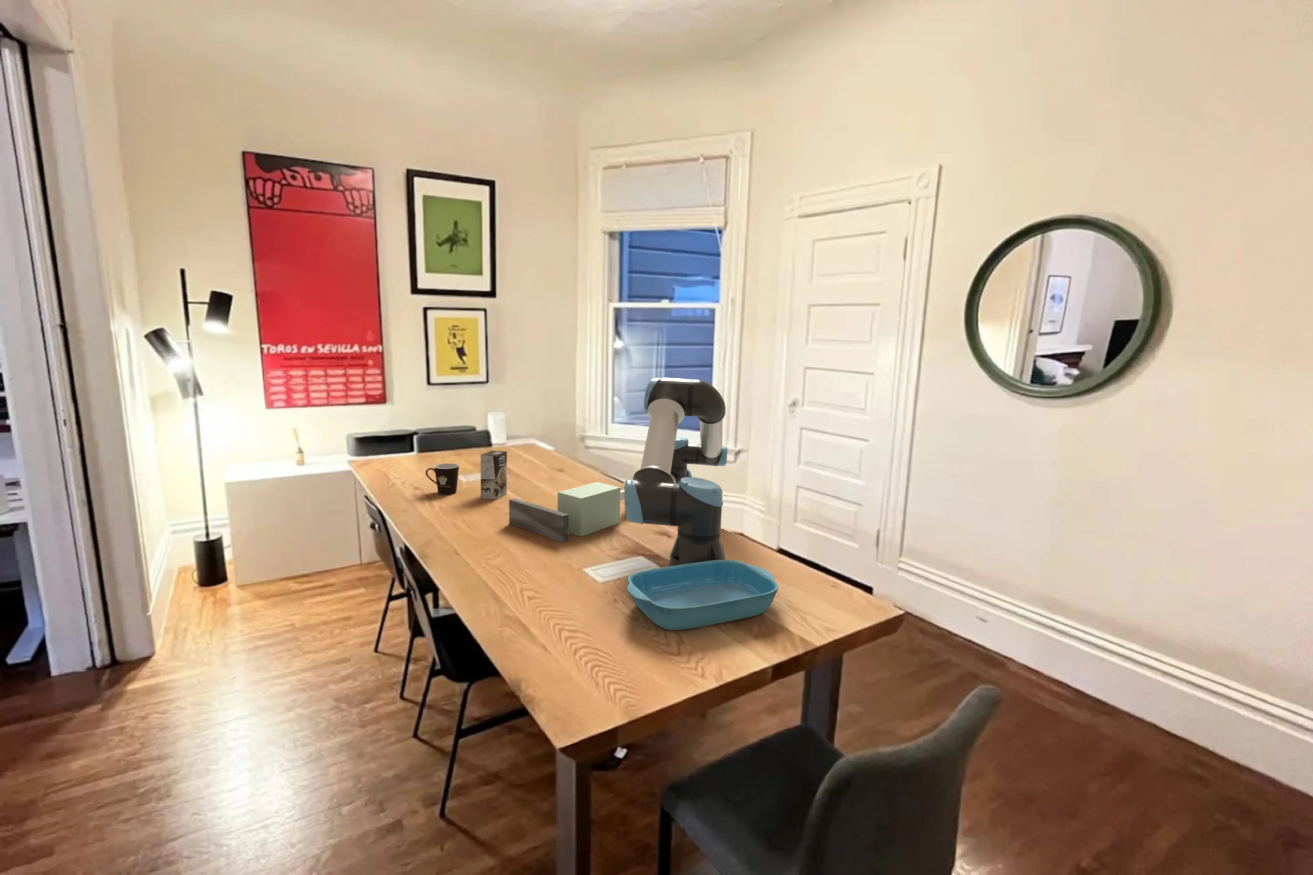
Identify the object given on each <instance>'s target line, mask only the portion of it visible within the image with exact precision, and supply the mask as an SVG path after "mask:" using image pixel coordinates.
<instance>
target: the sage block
mask: <svg viewBox="0 0 1313 875" xmlns="http://www.w3.org/2000/svg"><path fill="white" fill-rule="evenodd" d="M620 491H621V487H620V486H616V485H613V484H612V485H611V484H607V483H604V482H600V481H596V482H591V483H587V484H584V485H580V486H576V487H573V488H568V489H566V490H565V489H564V490H561V491H558V492H557V511H559V512H562V513H566V514H569V533H568V534H572V535H575V536H577V537H583V536H586V535H589V534H592V533H594V532H597V531H601V530H603V529H607V528H609V527H612V526H614V525H618V524H620V523H621V522H620V520H621V518H620V516H621V513H620V512H621V500H620Z"/></svg>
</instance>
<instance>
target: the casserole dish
mask: <svg viewBox="0 0 1313 875" xmlns="http://www.w3.org/2000/svg"><path fill="white" fill-rule="evenodd" d="M775 577H776V576H774V574H773V573H772V572H770V571H768V570H767V569H764V568H762V567H760V566H756V565H753V564H750V563H749V564H748V563H746V562H743V561H740V560H735V559H725V560H713V561H704V562H697V563H690V564H683V565H676V566H671V565H670V566H663V567H657V568H656V567H655V568H651V569H645V570H640V571H637V572H633V573H632V574H630V575H629V576H628V578H627V583H628V585H627V587H626V591H627V593H628V594H629V595H630V596H631V598H632V600H633V602H634V604H635V605H636V606H637V607H638V608H639V609H640V611H641V612H642V613H643V614H644V615H645V616H646V617H647V618H649V620H650V621H651V622H652V623H654V624H656V625H657V626H659V627H661V628H662V629H663V630H666V631H667V630H668V631H682V630H683V631H684V630H690V629H696V628H702V627H707V626H713V625H718V624H723V623H728V622H733V621H738V620H742V619H747V618H751V617H755V616H759V615H761V614H763V613H764V612H766V611H767V610H768V609H769V608H770V607H771V605H772V603H773V601H774V599H775V597H776V595H777V593H778V590H779V587H780V586H779V584H778V583H777V581H776V580H775Z"/></svg>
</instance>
